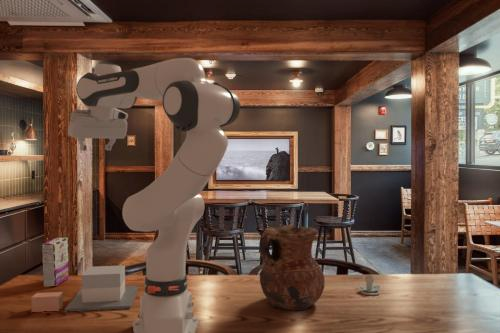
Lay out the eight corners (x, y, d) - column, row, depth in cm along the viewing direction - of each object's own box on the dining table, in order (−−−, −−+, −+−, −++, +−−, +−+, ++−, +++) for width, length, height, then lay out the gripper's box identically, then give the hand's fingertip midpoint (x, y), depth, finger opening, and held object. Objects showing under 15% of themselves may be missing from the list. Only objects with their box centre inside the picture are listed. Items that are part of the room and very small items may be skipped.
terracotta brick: (58, 311, 128) (58, 296, 128) (31, 313, 127) (31, 297, 126) (62, 307, 132) (62, 291, 132) (36, 308, 131) (36, 293, 130)
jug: (278, 288, 149) (278, 220, 149) (333, 298, 139) (334, 225, 138) (247, 308, 130) (247, 230, 130) (308, 322, 120) (308, 237, 119)
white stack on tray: (130, 308, 130) (130, 277, 130) (64, 312, 127) (64, 280, 127) (138, 288, 150) (138, 261, 149) (81, 290, 147) (81, 263, 147)
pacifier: (382, 296, 142) (377, 290, 148) (383, 279, 141) (378, 273, 147) (361, 296, 142) (357, 290, 148) (361, 278, 141) (357, 273, 147)
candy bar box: (57, 278, 162) (56, 237, 161) (69, 278, 162) (68, 237, 161) (42, 287, 150) (41, 243, 150) (55, 287, 150) (54, 243, 150)
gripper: (76, 111, 127) (71, 153, 131) (132, 115, 144) (125, 152, 147) (67, 106, 131) (61, 147, 134) (122, 110, 147) (116, 147, 150)
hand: (95, 150), depth 141 cm, fingers open, 8 cm apart
